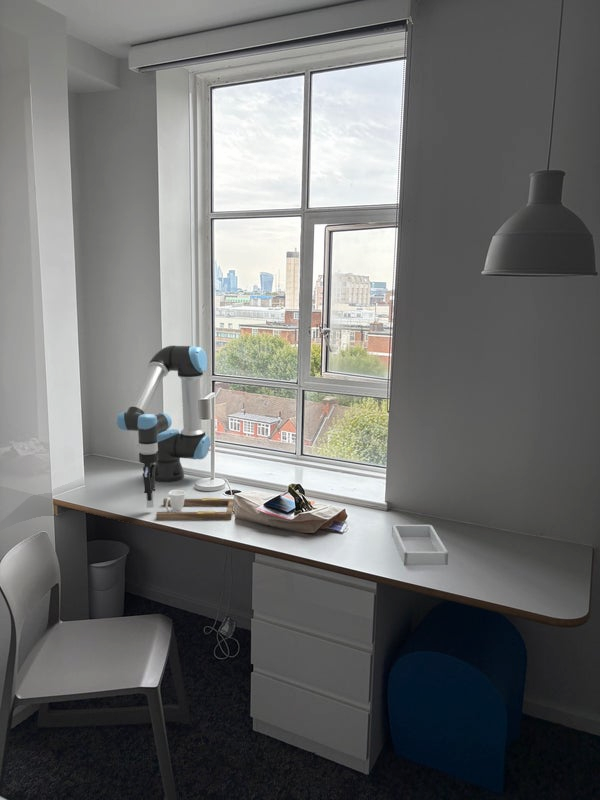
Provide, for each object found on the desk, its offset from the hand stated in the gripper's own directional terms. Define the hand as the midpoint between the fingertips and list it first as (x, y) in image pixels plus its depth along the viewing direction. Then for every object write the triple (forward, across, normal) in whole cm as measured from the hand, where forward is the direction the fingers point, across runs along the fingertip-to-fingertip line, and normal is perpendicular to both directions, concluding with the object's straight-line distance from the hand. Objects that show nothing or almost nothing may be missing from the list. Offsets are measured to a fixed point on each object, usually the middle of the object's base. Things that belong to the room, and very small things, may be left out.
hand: (150, 506), depth 254 cm
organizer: (+2, +37, +104) cm, 110 cm away
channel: (+2, 0, +18) cm, 18 cm away
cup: (+2, 0, +10) cm, 10 cm away
